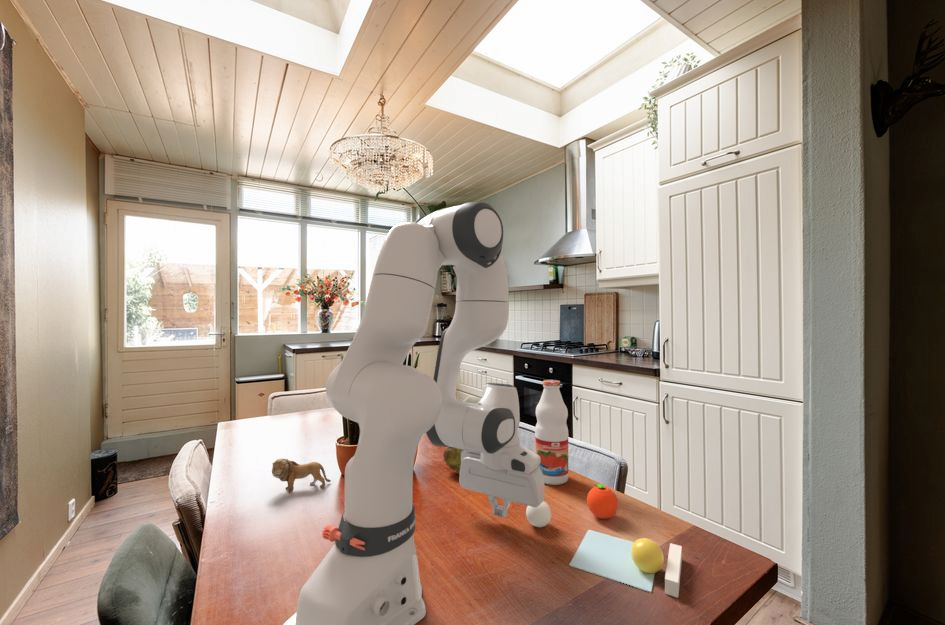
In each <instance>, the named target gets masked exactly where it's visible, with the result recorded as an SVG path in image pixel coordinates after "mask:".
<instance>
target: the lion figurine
mask: <svg viewBox="0 0 945 625" xmlns="http://www.w3.org/2000/svg"><path fill="white" fill-rule="evenodd" d="M271 473H272V474H271V475H272V476H273V477H274V478H276V479H279V480H280V481H281V482H286V483H287V486H286V487H285V490H286V491H287V492H286V493H288V494H291V493H293V492H294V484H295V481H296V480H301V479H305V478H307V477H308V476H310V475H311V476H312V477H313V481H311V482H309V485H310V486H314V485H315V484H316V483H317V482H320V483H321V484H320V485H319V488H321V489H323V488H325V486H326V482H327V483H330V482H331V479H328V478H327V475H326V471H325V468H324V467H323V465H322V464H321V463H319V462H318V461H317V462H316V461H311V462H308V463H304V464H299V463H297V462H296V461H294V460H289V459H288V458H278V459H276V460H275V461H274V462H272V468H271ZM321 473H322V474H321ZM322 475H323V476H322Z"/></svg>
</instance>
